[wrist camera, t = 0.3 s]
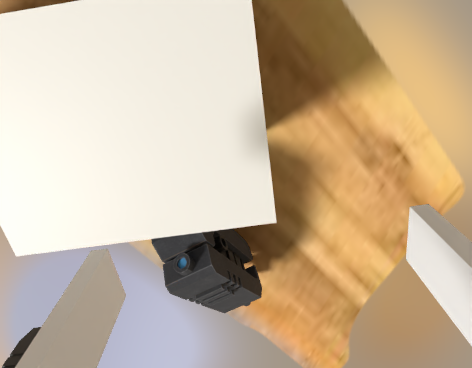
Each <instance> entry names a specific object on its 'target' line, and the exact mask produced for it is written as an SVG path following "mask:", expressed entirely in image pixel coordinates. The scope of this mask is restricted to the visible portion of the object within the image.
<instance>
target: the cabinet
mask: <svg viewBox="0 0 472 368" xmlns="http://www.w3.org/2000/svg"><path fill="white" fill-rule="evenodd" d="M271 223H277V222H276V213H275V204H274V195H273V186H272V177H271V168H270V159H269V150H268V142H267V133H266V124H265V115H264V106H263V97H262V88H261V79H260V70H259V61H258V52H257V43H256V34H255V25H254V16H253V7H252V0H78V1H73V2H67V3H61V4H55V5H49V6H44V7H38V8H32V9H26V10H20V11H15V12H9V13H3V14H0V226H1V227H2V229H3V231H4V233H5V235H6V237H7V239H8V241H9V243H10V245H11V247H12V249H13V251H14V253H15V254H16V256H22V255H30V254H37V253H45V252H53V251H61V250H69V249H77V248H84V247H92V246H100V245H108V244H115V243H123V242H131V241H139V240H147V239H154V238H162V237H170V236H178V235H185V234H193V233H201V232H209V231H216V230H224V229H232V228H240V227H247V226H255V225H263V224H271Z"/></svg>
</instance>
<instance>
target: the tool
mask: <svg viewBox="0 0 472 368" xmlns="http://www.w3.org/2000/svg"><path fill="white" fill-rule="evenodd" d="M152 244H153V246H154V248H155V250H156V251H157V253H158V255H159V257H160V258H161V260H162V262H164V263H165V264H163V270H164V278H165V286H166V288H167V290H168V291H169V293H170V294H172V295H175V296H178V297H180V298H183V299H185V300H187V299H189V301H191V302H194V301H196V303H197V304H200V303H201V305H202V306H205V307H208V308H211V309H214V310H217V311H219V312H222V313H226V312H228V311H231V310H233V309H235V308H238V307H240V306H243V305H244V306H248V305H250V303H251V302H252V301H254V300H257V299H259V298H261V292H262V286H261V283H260V280H259V276H258V273H257V270H256V267H255V265H253V266H251V267H249V268H247V269H245V267H244V264H245V263H247V262H249V261H251V260H253V257H252V254H251V251H250V248H249V246H248V244H247V242H246V241H245V240H244V239H243V238H242V237H241V236H240V235H239V234H238V233H237V232H236V231H234V230H233V229H224V230H216V231H209V232H201V233H193V234H185V235H178V236H170V237H162V238H154V239H152Z"/></svg>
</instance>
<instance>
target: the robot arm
mask: <svg viewBox="0 0 472 368" xmlns="http://www.w3.org/2000/svg"><path fill="white" fill-rule="evenodd" d="M406 260H407V261H408V263H409V264H410V265H411V266H412V268H413V269H414V270H415V272H416V273H417V274H418V276H419V277H420V278H421V280H422V281H423V282H424V283H425V285H426V286H427V288H428V289H429V290H430V292H431V293H432V294H433V296H434V297H435V298H436V300H437V301H438V302H439V304H440V305H441V306H442V307H443V309H444V310H445V311H446V313H447V314H448V315H449V317H450V318H451V319H452V321H453V322H454V323H455V325H456V326H457V327H458V328H459V330H460V331H461V333H462V334H463V335H464V337H465V338H466V339H467V340H468V342H469V343H470V344H471V346H472V242H471V241H470V240H469V239H468V238H466V237H465V236H464V235H463V234H462V233H461V232H459V231H458V230H457V229H456V228H455V227H454V226H453V225H452V224H451V223H449V222H448V221H447V220H446V219H445V218H444V217H443V216H442V215H440V214H439V213H438V212H437V211H436V210H435V209H434V208H432V207H431V206H430V205H429V204H426V205H419V206H411V207H410V213H409V226H408V240H407V254H406ZM125 297H126V294H125V292H124V289H123V286H122V284H121V281H120V279H119V276H118V273H117V271H116V268H115V266H114V263H113V261H112V258H111V256H110V254H109V251H108V249H101V250H94V251H91V252H90V253H89V255H88V256H87V258H86V260H85V261H84V263H83V264H82V266H81V267H80V269H79V270H78V272H77V273H76V275H75V276H74V278H73V280H72V281H71V282H70V284H69V286H68V287H67V289H66V290H65V292H64V294H63V295H62V297H61V298H60V299H59V301H58V302H57V304H56V305H55V307H54V309H53V310H52V312H51V313H50V315H49V316H48V318H47V319H46V321H45V322H44V324H43V325H42V327H38V328H33V329H32V330H31V331H30V332H29V333H28V334H27V335H26V336H24V338H22V339H21V340H20V341H19V343H18V344H17V346H16V347H15V348H14V350H13V351H12V353H11V354H10V357H9V358H8V359H7V360H6V361H5V363H4V364H3V366H2V368H97V366H98V363H99V361H100V358H101V356H102V354H103V351H104V349H105V346H106V344H107V341H108V339H109V336H110V334H111V332H112V329H113V327H114V324H115V322H116V319H117V317H118V314H119V312H120V309H121V307H122V304H123V302H124V300H125Z"/></svg>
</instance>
